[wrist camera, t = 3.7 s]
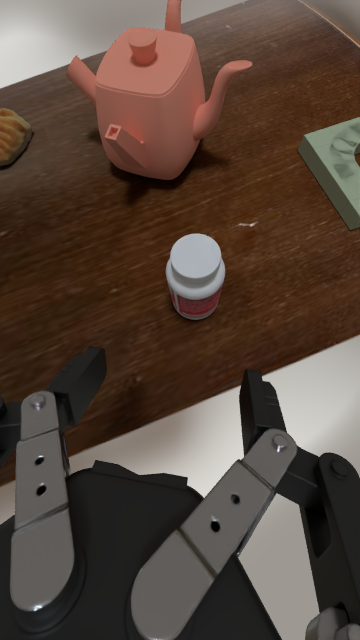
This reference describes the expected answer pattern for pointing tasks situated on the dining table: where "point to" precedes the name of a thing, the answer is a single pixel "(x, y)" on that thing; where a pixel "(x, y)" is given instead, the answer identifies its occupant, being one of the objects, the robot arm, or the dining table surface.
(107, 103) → the teapot
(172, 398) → the dining table surface
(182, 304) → the pill bottle
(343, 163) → the socket pad
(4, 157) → the pastry
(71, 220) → the dining table surface
